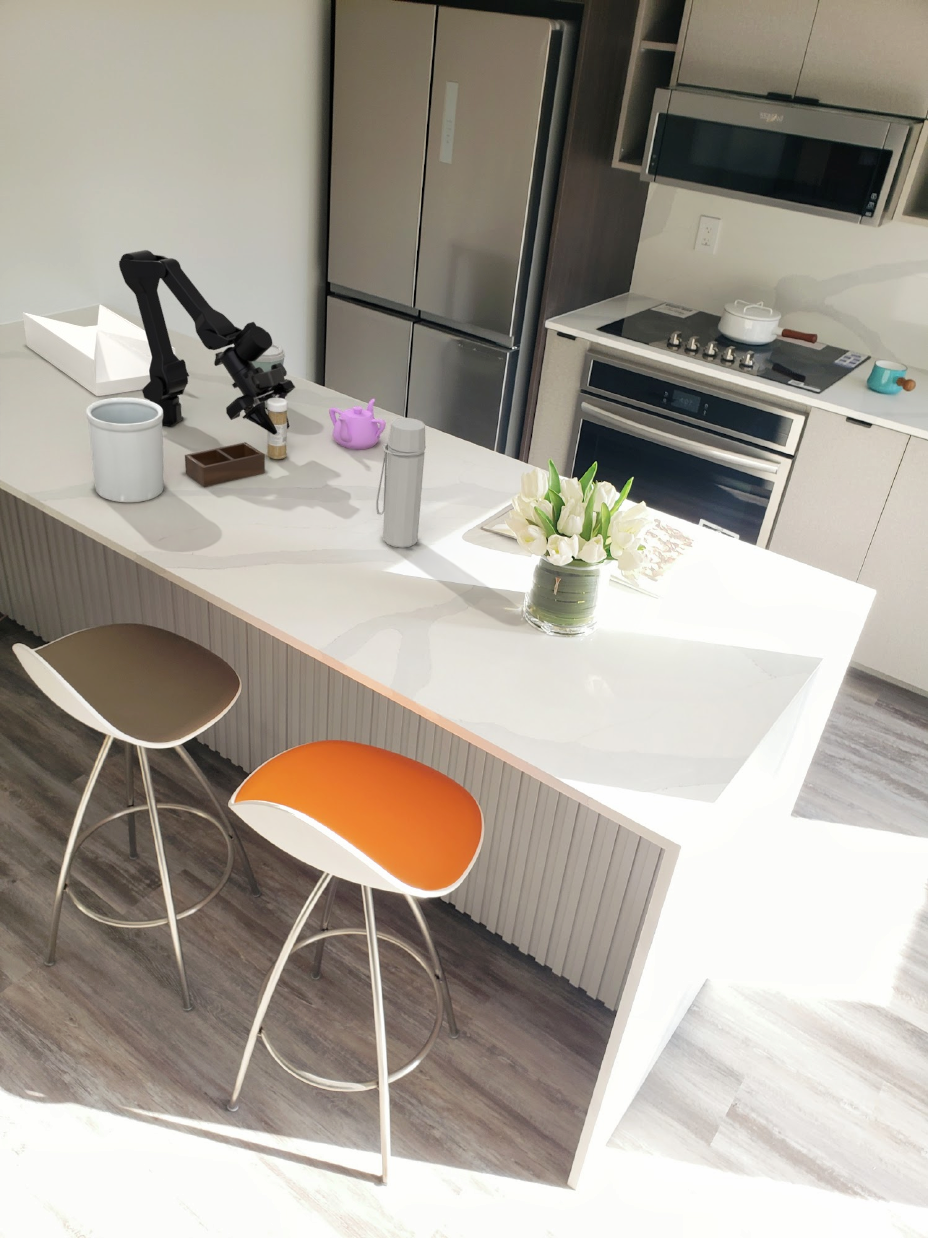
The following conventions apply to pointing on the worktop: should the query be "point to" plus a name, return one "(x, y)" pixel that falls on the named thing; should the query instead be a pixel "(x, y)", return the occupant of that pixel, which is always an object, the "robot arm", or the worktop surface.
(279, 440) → the sprinkles bottle
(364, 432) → the teapot
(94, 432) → the utensil holder
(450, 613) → the worktop surface
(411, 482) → the water bottle
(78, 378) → the white shallow tray
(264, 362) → the disposable coffee cup
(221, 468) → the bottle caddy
